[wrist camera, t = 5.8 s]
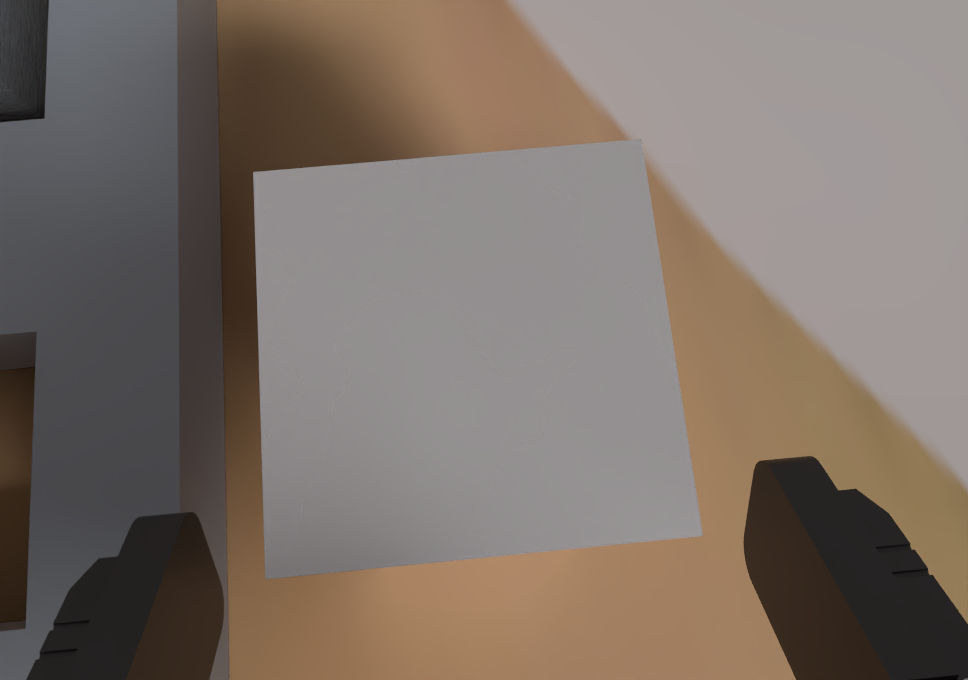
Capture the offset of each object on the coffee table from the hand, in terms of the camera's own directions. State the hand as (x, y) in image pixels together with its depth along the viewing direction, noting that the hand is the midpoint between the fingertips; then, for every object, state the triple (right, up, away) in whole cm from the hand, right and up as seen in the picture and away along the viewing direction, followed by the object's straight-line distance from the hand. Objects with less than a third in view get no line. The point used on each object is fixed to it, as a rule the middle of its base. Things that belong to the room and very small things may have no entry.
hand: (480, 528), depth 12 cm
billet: (0, 0, +8) cm, 8 cm away
